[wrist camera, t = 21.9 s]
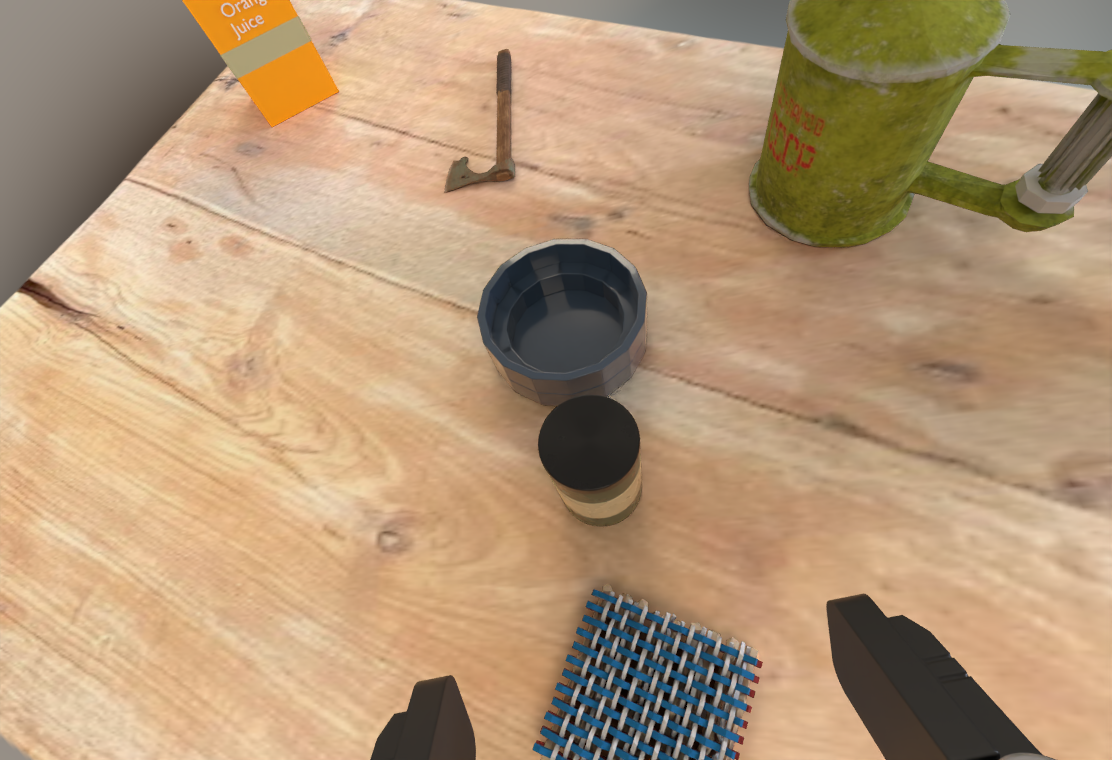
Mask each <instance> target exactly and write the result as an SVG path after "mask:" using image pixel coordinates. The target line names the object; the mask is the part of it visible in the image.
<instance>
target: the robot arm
mask: <svg viewBox="0 0 1112 760" xmlns="http://www.w3.org/2000/svg"><path fill="white" fill-rule="evenodd" d="M826 607H827V617H828V626H829V634H830V643H831V651H832V659H833V664H834V668H835V671H836V674H837V677H838V679H839V682H840V684H841V686H842V688H843V690H844V692H845V694H846V695H847V697H848V699H849V700H850V702H851V704H852V705H853V707H854V708H855V710H856V712H857V713H858V715H859V717H860V718H861V720H862V721H863V723H864V725H865V726H866V728H867V730H868V731H869V733H870V735H871V736H872V738H873V739H874V741H875V743H876V744H877V746H878V748H879V749H880V751H881V752H882V754H883V756H884V757H885V759H886V760H1056V759H1053V758H1050V757H1047V756H1044V755H1042V754H1041V753H1040V752H1039V751H1038V750H1037V749H1036V748H1035V747H1034V745H1033V744H1032V743H1031V742H1030V741H1029V740H1028V739H1027V738H1026V737H1025V736H1024V734H1023V733H1022V732H1021V731H1020V730H1019V729H1018V728H1017V727H1016V726H1015V725H1014V723H1013V722H1012V721H1011V720H1010V719H1009V718H1008V717H1007V716H1006V715H1005V714H1004V712H1003V711H1002V710H1001V709H1000V708H999V707H998V706H997V705H996V704H995V703H994V701H993V700H992V699H991V698H990V697H989V696H988V695H987V694H986V693H985V692H984V690H983V689H982V688H981V687H980V686H979V685H978V684H977V683H976V682H975V681H974V679H973V678H972V677H971V676H970V677H969V676H968V675H967V672H966V671H965V670H964V668H963V667H962V666H961V665H960V664H959V663H958V662H957V661H956V660H955V659H954V658H952V657H951V656H950V653H949V652H948V651H947V650H946V649H945V647H944V646H943V645H942V644H941V643H940V642H939V641H938V640H937V639H936V638H935V636H934V635H933V634H932V633H931V632H930V631H928V630H927V629H925V628H923V627H922V626H920V625H918V624H917V623H915V622H913V621H912V620H910V619H908V618H907V617H905V616H903V615H900V616H895V617H889V618H887V617H886V616H885V615H884V613H883V612H882V611H881V610H880V609H879V607H878V606H877V605H876V604H875V603H874V601H873V600H872V599H871V598H870V597H869V596H868V595H866V594H860V595H855V596H850V597H845V598H840V599H835V600H830V601H828V602H827V606H826ZM370 760H476V746H475V737H474V732H473V728H472V725H471V722H470V719H469V716H468V714H467V711H466V708H465V705H464V703H463V700H462V697H461V694H460V691H459V689H458V686H457V683H456V681H455V679H454V677H453V676H451V675H449V676H444V677H439V678H434V679H429V680H424V681H419V682H417V683H416V684H415V686H414V689H413V692H412V696H411V699H410V702H409V706H408V709H407V712H402V713H397V714H394V715H393V717H392V718H391V719H390V721H389V722H388V724H387V725H386V727H385V728H384V729H383V731H382V732H381V734H380V735H379V737H378V738H377V741H376V744H375V747H374V750H373V753H372V756H371V759H370Z"/></svg>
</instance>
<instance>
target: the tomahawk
mask: <svg viewBox="0 0 1112 760" xmlns="http://www.w3.org/2000/svg"><path fill="white" fill-rule="evenodd" d="M497 95H498V99H497V160H496V165H495V166H493V167H492V168H491V169H490V170H489V171H488V172H486V173H482V174H477V173H473V172H472V171H471V170H470V169H468V167H467V166H466V164H465V163H466V162H467V161H468V157H463V158H461V159H460V160H459V161H453V163H452V165H451V167H450V170H449V172H448V176H447V180H446V185H445V192H448V191H452V190H455V189H457V188H460V187H462V186H465V185H468V184H471V183H475V182H481V181H496V182H498V181H505V180H508V179H512V178H514V177H515V164H514V161H513V159H512V158H511V56H510V51H509V49H505V50H501V51H499V52H498V56H497ZM464 176H465V178H462V177H464Z"/></svg>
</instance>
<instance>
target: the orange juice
mask: <svg viewBox="0 0 1112 760" xmlns="http://www.w3.org/2000/svg"><path fill="white" fill-rule="evenodd" d="M182 1H183V2H184V4H185V5H186V6H187V8H188V9H189V11H190V12H191V14H192V15H193V16H194V18H195V19H196V21H197V22H198V23H199V25H200V26H201V28H202V29H203V30H204V32H205V33H206V35H207V36H208V38H209V39H210V40H211V42H212V43H213V45H214V46H215V48H216V49H217V50H218V52H219V54H220V55H221V57H222V58H223V60H224V61H225V62H226V64H227V65H228V67H229V68H230V70H231V71H232V72H233V74H234V75H235V77H236V78H237V79H238V80H239V82H240V83H241V84H242V86H243V87H244V89H245V90H246V92H247V93H248V94H249V96H250V97H251V99H252V100H253V101H254V103H255V104H256V106H257V107H258V109H259V110H260V111H261V113H262V114H263V116H264V117H265V118H266V120H267V121H268V123H269V124H270V126H271V127H273V126H275V125H277V124H279V123H281V122H283V121H285V120H287V119H288V118H290V117H292V116H294V115H296V114H298V113H300V112H302V111H303V110H305V109H307V108H309V107H311V106H313V105H315V104H317V103H318V102H320V101H322V100H324V99H326V98H328V97H330V96H332V95H333V94H335V93H337V92H339V90H338V89H337V87H336V85H335V83H334V81H333V79H332V77H331V76H330V74H329V72H328V70H327V68H326V66H325V65H324V63H323V61H322V59H321V57H320V55H319V54H318V52H317V50H316V48H315V46H314V44H313V43H312V40H311V38H310V36H309V34H308V33H307V31H306V29H305V27H304V25H303V23H302V21H301V20H300V18H299V16H298V15H297V13H296V11H295V10H294V8H293V6H292V4H291V2H290V0H182Z"/></svg>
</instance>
